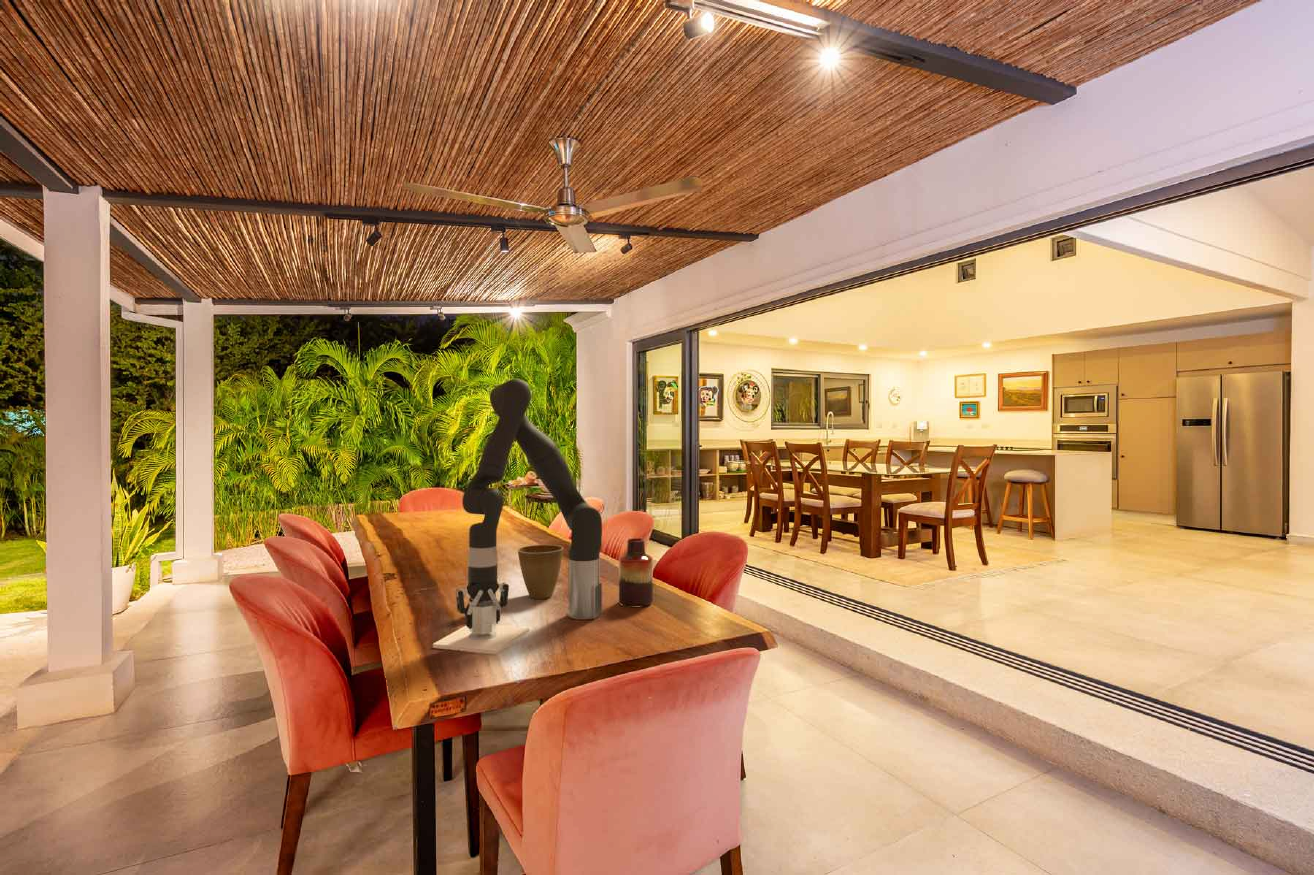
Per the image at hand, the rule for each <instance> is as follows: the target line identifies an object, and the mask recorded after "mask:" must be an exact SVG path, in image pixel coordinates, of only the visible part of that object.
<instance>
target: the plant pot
mask: <svg viewBox="0 0 1314 875" xmlns="http://www.w3.org/2000/svg"><path fill="white" fill-rule="evenodd" d="M563 552H564V547H563V546H561V545H555V544H536V545H535V544H534V545H527V546H522V547H520V548H518V549H517V554H518V561H519V568H520V571H521V576H522V578H523V581H524V585H525V587H526V591H527V593H528V595H529V598H531V599H536V600H539V599H540V600H541V599H547V598H551V597H552V596H553V594H554V592H555V590H556V589H555V588H556V585H557V584H558V583H557V582H558V579H559V575H560V570H561V566H562V559H563Z"/></svg>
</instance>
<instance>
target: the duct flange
mask: <svg viewBox="0 0 1314 875" xmlns="http://www.w3.org/2000/svg"><path fill="white" fill-rule="evenodd" d="M529 632H530V628H529V627H523V626H522V627H520V626H510V625H502V624H496V630H494V631H493V632H491V633H486V634H473V633H471V632H470V631H469V628H468V627H467V626H466V625H465V626H463V627H460V628H459V629H457V630H455V631H454V632H452V633H450V634H448V635H447V636H445V637H443V638H441V639H440V640H438V641H435V642H434V643H433V644H432V648H433V649H441V650H442V649H443V650H449V649H450V650H451V651H458V650H459V651H460V652H469V653H478V654H486V655H487V654H488V655H498V654H499V653H501V652H502V651H503V650H505V649H506V648H508V647H509V646H510V644H511V645H512V644H513V643H515V642H517V641H518V640H519V639H521V638H522V637H523V635H524V636H526V633H527V634H528V633H529ZM521 636H522V637H521ZM520 637H521V638H520ZM517 639H518V640H517ZM514 641H515V642H514Z"/></svg>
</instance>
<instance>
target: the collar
mask: <svg viewBox="0 0 1314 875" xmlns="http://www.w3.org/2000/svg"><path fill="white" fill-rule="evenodd" d="M471 614H472V629H469V631H470V632H471V633H473V634H486V633H491V632H493V631H494V630H496V625H497V624H496V603H495V604H494V603H492V602H491V601H483V602H479V603H477V605H476V607H472V613H471Z"/></svg>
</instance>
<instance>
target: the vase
mask: <svg viewBox="0 0 1314 875" xmlns="http://www.w3.org/2000/svg"><path fill="white" fill-rule="evenodd" d="M645 546H646V545H645V539H644V538H639V537H638V538H633V537H632V538H627V541H626V553H625V554H622V555H621V556H620V557H619V559H618V603H621V604H623V605H625V606H624V607H626V606H645V607H647V606H646V605H649V604H651V603H652V604H653V601H654V598H653V595H654V594H653V593H654V592H653V589H654V588H653V583H654V582H653V580H654V577H653V575H654V574H653V573H654V571H653V570H654V569H653V566H654V564H653V556H651V555H649V554H647V553H646V547H645ZM652 604H651V605H652ZM649 606H650V605H649Z"/></svg>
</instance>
